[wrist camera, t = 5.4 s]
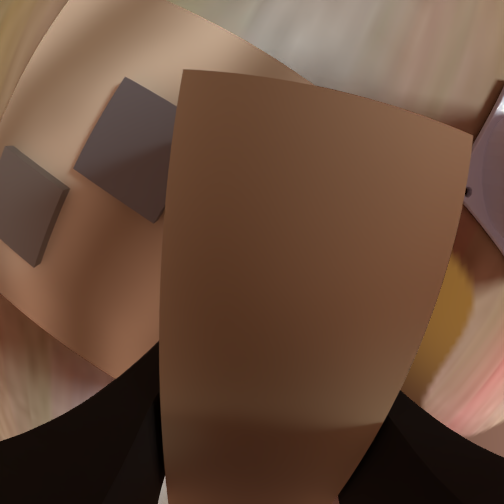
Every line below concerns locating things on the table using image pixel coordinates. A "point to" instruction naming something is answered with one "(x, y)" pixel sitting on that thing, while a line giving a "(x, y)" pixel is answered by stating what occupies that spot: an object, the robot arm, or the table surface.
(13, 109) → the birch board
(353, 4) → the table surface
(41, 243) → the charcoal chip
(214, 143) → the block
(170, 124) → the charcoal chip
